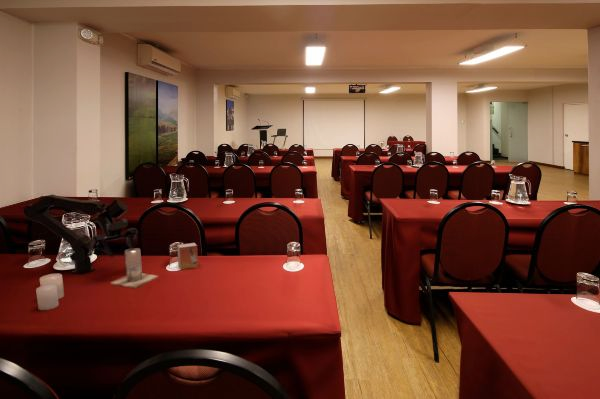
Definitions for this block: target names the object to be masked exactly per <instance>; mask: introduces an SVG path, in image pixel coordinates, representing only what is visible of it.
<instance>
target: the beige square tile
mask: <svg viewBox="0 0 600 399" xmlns="http://www.w3.org/2000/svg"><path fill="white" fill-rule="evenodd" d="M157 278H159V275H156V274H148V273H143V272H142V279H141V280H139V281H135V282H129V281H127V275H125V276H121V277H119V278H118V279H115V280H113V281H110V285H115V286H120V287H126V288H131V289H137V288H139V287H141V286H143V285H145V284H147V283H149V282H151V281H154V280H156V279H157Z"/></svg>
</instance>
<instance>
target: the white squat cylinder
mask: <svg viewBox="0 0 600 399" xmlns="http://www.w3.org/2000/svg"><path fill="white" fill-rule="evenodd" d="M35 291H36V299H37V307H38V310H40V311H48V310H52V309H55V308H57V307H58V306H59V305H60V304H59V299H58V295H57V286H56V285H53V284H50V285H44V286H39V287H37V288H36V289H35Z"/></svg>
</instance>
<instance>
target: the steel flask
mask: <svg viewBox="0 0 600 399" xmlns="http://www.w3.org/2000/svg"><path fill="white" fill-rule="evenodd" d="M124 261H125V262H124V263H125V273H126V275H125V276H127V281H129V282H135V281H139V280H141V279H142V273H143V267H142V265H143V264H142V254H141V248H139V247H134V248H131V249H130V248H128V249H125V250H124Z"/></svg>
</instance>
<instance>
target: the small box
mask: <svg viewBox="0 0 600 399" xmlns="http://www.w3.org/2000/svg"><path fill="white" fill-rule="evenodd" d="M176 247H177V265H178V266H177V267H178V268H179V270H188V269H195V268H199V263H198V262H199V260H198V258H199V256H198V245H197V244H196V243H195V242H191V243H183V244H182V243H181V244H177V245H176Z"/></svg>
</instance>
